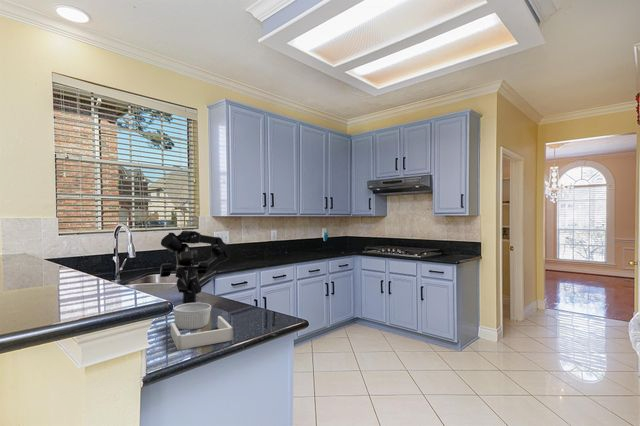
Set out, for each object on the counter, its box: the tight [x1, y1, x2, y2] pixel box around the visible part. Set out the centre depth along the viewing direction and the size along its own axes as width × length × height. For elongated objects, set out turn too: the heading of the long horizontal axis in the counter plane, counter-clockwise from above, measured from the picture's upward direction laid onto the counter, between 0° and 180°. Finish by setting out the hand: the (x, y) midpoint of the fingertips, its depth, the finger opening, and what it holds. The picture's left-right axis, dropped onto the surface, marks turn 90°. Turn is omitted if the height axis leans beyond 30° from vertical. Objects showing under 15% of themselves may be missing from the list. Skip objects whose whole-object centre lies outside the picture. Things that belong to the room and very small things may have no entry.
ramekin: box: [173, 302, 212, 330], centre depth 124 cm, size 13×13×7 cm
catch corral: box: [170, 315, 234, 351], centre depth 112 cm, size 16×17×4 cm
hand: (187, 285), depth 135 cm, fingers closed
